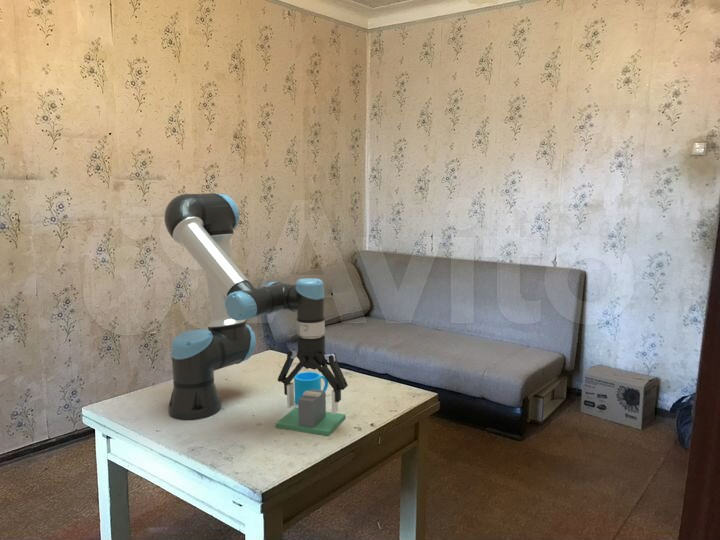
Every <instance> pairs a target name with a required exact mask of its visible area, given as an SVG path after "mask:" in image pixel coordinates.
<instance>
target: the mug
mask: <svg viewBox="0 0 720 540" xmlns="http://www.w3.org/2000/svg"><path fill="white" fill-rule="evenodd" d="M293 379H294V380H293V383H294V404H296V405H297V406H298V399H299V398H301V397H302V396H303V393H304V392H305V391H309V390H311V389H316V390H323V391H325V392H326V391H327V389H328V387H329V382H328V381H327V380H326V378H325V377H324V376H323V374H320V373H318V372H313V371H303V372H298V373H297V375H296V376H295V377H294V378H293ZM322 380H323V381H324V386H323V389H322V385H321V384H322V383H321V382H322Z"/></svg>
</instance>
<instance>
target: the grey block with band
mask: <svg viewBox="0 0 720 540" xmlns="http://www.w3.org/2000/svg"><path fill="white" fill-rule="evenodd" d="M326 395H327V394H326V391H323V389H321V390H316V389H311V390H309V391H305V392H304V393H303V396H302V397H301V398H299V399H298V405H297V406H298V407H297V408H298V413H299V426H302V427H309V428H314V427H315V426H316V425H317V424H318V423H319V422H320V421H321V420H323V419H324V418H325V417H326V412H327V408H326V407H327V406H326V405H327V404H326V400H327V398H326Z"/></svg>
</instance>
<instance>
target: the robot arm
mask: <svg viewBox="0 0 720 540" xmlns="http://www.w3.org/2000/svg"><path fill="white" fill-rule="evenodd" d="M163 216H164V226H165V229H166V230H167V232H168V234H169V235H170V237H171V238H172V239H173V240H174V241H175V242H176V243H177V244H182V246H183V247H184V248H185V249H186V250H187V251H188V254H190V255H191V257H192V258H193V259H194V260H195V262H197V264H198V265H199V266H200V268H201V269H202V270H203V271H204V272H205V278H206V285H207V293H208V300H209V307H210V313H211V314H210V315H211V320H210V322H209V323H208V324H207V329H205V328H204V329H203V328H202V329H201V328H199V329H195V330H192V329H191V330H188V331H187V330H186V331H184V332H181V333H179V334H178V335H176V336H175V337H174V338H173V339H172V341H171V352H170V356H171V362H172V365H171V366H172V379H173V388H172V392H171V396H170V400H169V403H168V415H169V416H170V417H172V418H174V419H178V420H197V419H202V418H203V419H204V418H207V417H210V416H213V415H214V414H216V413H218V412H219V411H220V410H221V409H222V398H221V396H220V395H219V391H218V389H217V386H216V383H215V371H216V370H221V369H224V368H227V367H231V366H234V365H238V364H241V363H243V362H245V361H247V360H249V359H250V358H251V357H252V356H253V355H254V352H255V350H256V345H257V341H256V340H257V338H256V334H255V331H254V330H253V329H252V327H251V326H250V325H249V324H247V322H246V320H251V319H253V318H258V317H260V316H264V315H265V316H266V315H270V314H275V313H277V312H281V311H282V312H284V311H287V312H294V313H296V332H297V335H298V336H297V337H296V338H297V339H296V340H297V343H296V344H297V351H296V349H294V348H292V349H290V350H288V351H287V353H286V354H287V355H286V359H285V362H284V365H283V366H282V368H281V370H280V373H279V374H278V377H277V382H280V383H283V385H284V386H283V388H284V391H283V392H284V393H283V394H284V395H285V396H286V401H287V402H286V406H287V407H286V408H288V409H290V408H292V407H293V406H294V405H295V388H294V381H292V380H293V379H294V377H295V376H296V375H297V374H298V373H300V371H302V369H303V368H304V369H307V370H309V369H310V370H313V371H314V370H315V371H316V370H317V371H318V372H319V373H321V375H322V376H324V377H325V378H326V380H327V381H328V385H330V386H331V388H332V391H331V412H332V414H335V413H338V412H339V403H340V402H341V400H342V391H344V390H345V389H346V388H347V387H348V385H349V384H348V382H347V380H346V378H345V376H344V374H343V372H342V370H341V367H340V365H339V363H338V361H337V360H338V359H337V354H336V353H334V352H333V353H332V354H326V336H325V333H326V331H325V330H326V326H325V325H326V324H325V321H326V320H325V295H326V294H325V287H324V282H323V280H322V279H320V278H315V277H314V278H311V277H310V278H309V277H308V278H307V277H305V278H300V279H297V281H296V282H295V284H294V283H293V284H292V283H288V282H283V281H271V282H268V284H266V285H264V286H260V287H255V286H254V284H252V282H251V281H249V279H248V278H247V276H245V274H244V273H243V272H242V271H241V270H240V269H239V268H238V266H237V264H235V262H234V261H233V256H232V255H233V254H232V247H231V239H232V238H233V236H234V229H236V228H237V227H238V225H239V223H238V222H240V211H239V208H238V206H237V203H236V202H235V200H234V199H232V198H231V196H229V195H227V194H224V193H223V194H222V193H216V192H215V193H213V192H211V193H184V194H183V193H182V194H179V195H177V196H175V197H174V198H173V199H171V200H170V201H169V202H168V204H167V206H166V208H165V211H164V215H163ZM296 358H297V359H298V361H299V362H298V363H297V364H296V366H295V367H294V369H292V371H291V372H290V373H289V371H290V369H291V367H292V364H293V363H294V360H295V359H296ZM325 361H327V363H328V364H329V367H330V368H329V367H328V364H327V363H326V362H325ZM288 373H289V374H288Z"/></svg>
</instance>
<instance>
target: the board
mask: <svg viewBox="0 0 720 540" xmlns="http://www.w3.org/2000/svg"><path fill="white" fill-rule="evenodd" d="M344 420H346V414H344V413H338V412H336V413H335V414H332V411H331V412H330V411H326V417H325V418H324V419H323V420H321V421H320V422H319V423H318V424H317V425H316V426H315V427H314V428H309V427H302V426H299V413H298V407H297V406H296V407H294V408H292V410H290V411H289V412H287V414H286V415H284V416H283V417H282V418H280V419H279V420H278V421H277V422H276V423H275V428H278V429H284V430H289V431H295V432H302V433H308V434H315V435H321V436H326V437H330V435H331V434H332V433H334V431H335V430H336V429H337V428H338V427H339V426H340V425H341V424H342V423H343V422H344Z"/></svg>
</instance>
